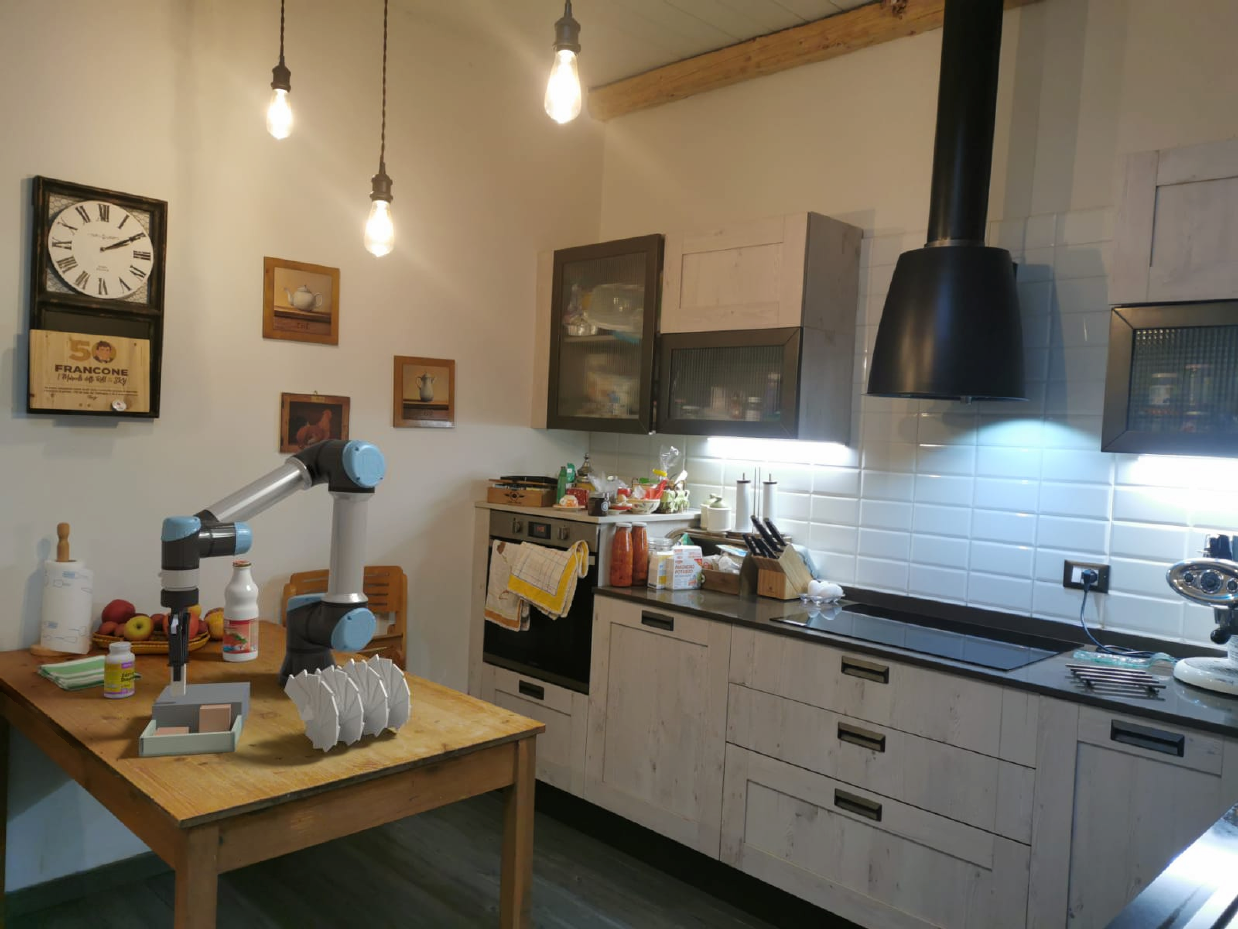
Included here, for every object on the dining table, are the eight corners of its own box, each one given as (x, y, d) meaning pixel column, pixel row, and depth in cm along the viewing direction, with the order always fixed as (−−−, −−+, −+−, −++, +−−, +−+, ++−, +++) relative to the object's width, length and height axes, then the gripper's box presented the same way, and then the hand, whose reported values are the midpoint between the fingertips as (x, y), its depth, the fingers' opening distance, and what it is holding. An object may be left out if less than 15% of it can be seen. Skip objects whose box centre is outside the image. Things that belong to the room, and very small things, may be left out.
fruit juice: (264, 658, 262) (266, 562, 260) (233, 664, 254) (234, 565, 253) (247, 652, 267) (248, 558, 266) (216, 658, 260) (217, 561, 259)
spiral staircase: (408, 748, 206) (312, 774, 186) (367, 700, 215) (271, 719, 195) (436, 683, 201) (340, 702, 181) (392, 636, 210) (297, 650, 191)
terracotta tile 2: (181, 737, 188) (181, 748, 188) (188, 727, 194) (188, 738, 194) (150, 738, 187) (150, 749, 187) (158, 727, 193) (158, 739, 193)
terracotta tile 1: (231, 704, 199) (229, 707, 197) (230, 731, 199) (229, 734, 197) (201, 705, 198) (199, 709, 195) (201, 732, 198) (199, 736, 195)
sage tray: (241, 733, 200) (241, 715, 200) (234, 751, 189) (234, 732, 189) (151, 738, 195) (151, 719, 195) (139, 757, 184) (139, 738, 184)
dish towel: (66, 694, 224) (66, 683, 224) (34, 675, 239) (34, 664, 239) (141, 680, 238) (142, 670, 238) (106, 663, 253) (106, 653, 253)
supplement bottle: (121, 700, 220) (121, 648, 219) (97, 698, 221) (98, 645, 220) (140, 692, 226) (141, 641, 226) (117, 690, 227) (118, 639, 227)
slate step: (249, 711, 215) (250, 682, 215) (241, 733, 200) (241, 701, 200) (166, 715, 210) (166, 685, 210) (151, 738, 195) (152, 706, 195)
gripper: (167, 582, 202) (165, 686, 203) (154, 593, 189) (152, 704, 190) (203, 582, 204) (201, 685, 205) (193, 592, 192) (191, 702, 192)
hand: (178, 694), depth 198 cm, fingers closed
